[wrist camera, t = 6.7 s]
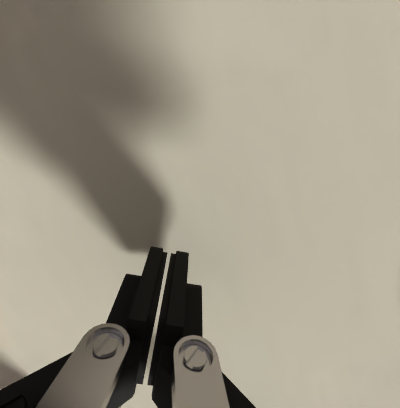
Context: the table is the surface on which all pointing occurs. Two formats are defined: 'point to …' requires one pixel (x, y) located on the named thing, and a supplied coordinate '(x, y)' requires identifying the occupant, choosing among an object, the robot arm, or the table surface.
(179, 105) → the table surface
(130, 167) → the table surface
